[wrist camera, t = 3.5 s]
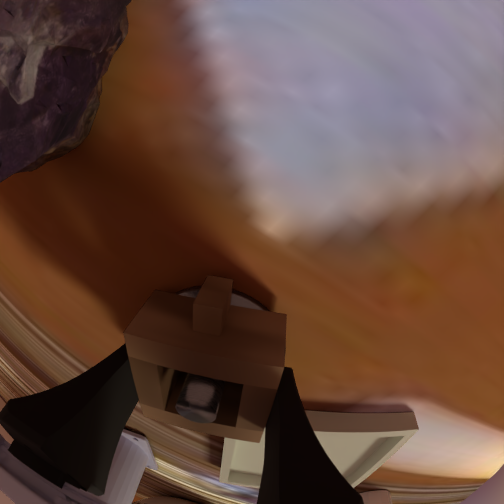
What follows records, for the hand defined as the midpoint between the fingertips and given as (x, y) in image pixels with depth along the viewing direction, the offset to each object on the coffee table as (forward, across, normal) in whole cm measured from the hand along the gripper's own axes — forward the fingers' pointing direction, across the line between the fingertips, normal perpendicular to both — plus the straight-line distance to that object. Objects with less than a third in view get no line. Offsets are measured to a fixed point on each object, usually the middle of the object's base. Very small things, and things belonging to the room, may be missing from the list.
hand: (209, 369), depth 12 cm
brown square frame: (+1, 0, 0) cm, 1 cm away
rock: (+2, +8, -14) cm, 16 cm away
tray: (+2, -7, +10) cm, 13 cm away
